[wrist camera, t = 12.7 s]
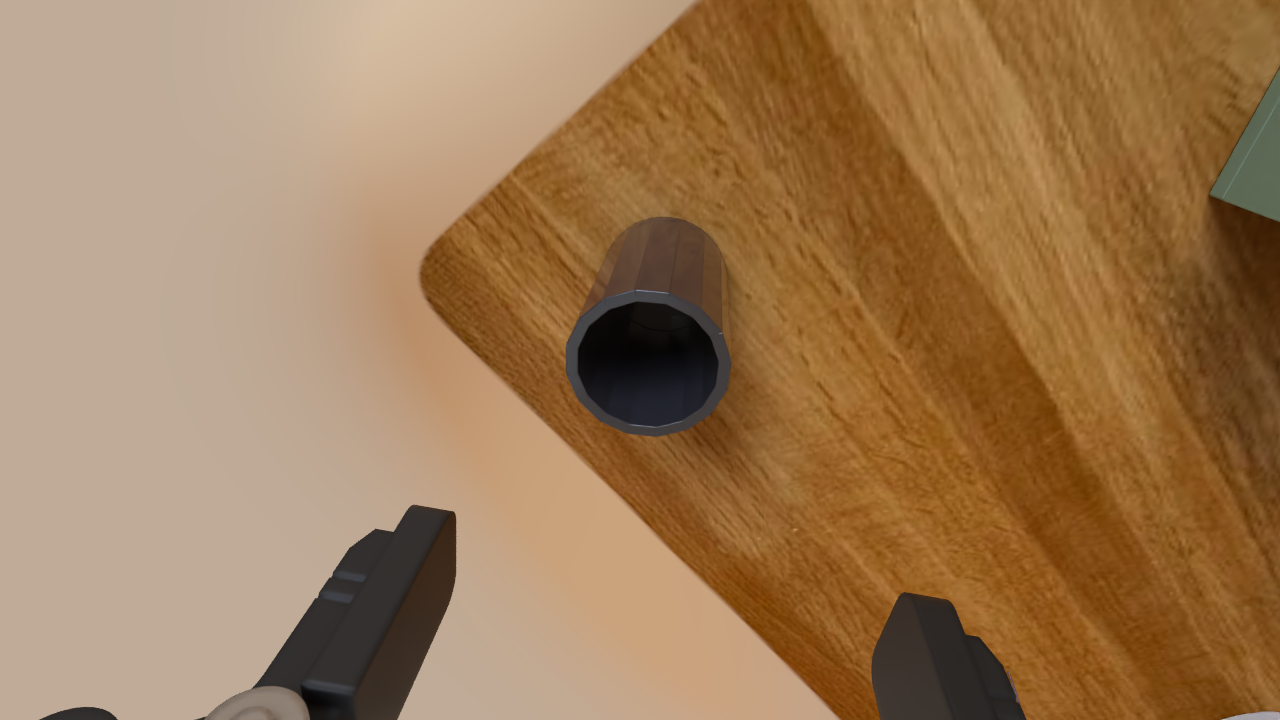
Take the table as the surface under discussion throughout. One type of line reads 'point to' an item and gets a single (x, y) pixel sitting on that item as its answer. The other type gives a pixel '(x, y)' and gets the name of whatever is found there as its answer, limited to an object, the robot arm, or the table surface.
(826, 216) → the table surface
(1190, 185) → the table surface
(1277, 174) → the chest
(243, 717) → the robot arm
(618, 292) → the cup
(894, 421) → the table surface
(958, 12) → the table surface
